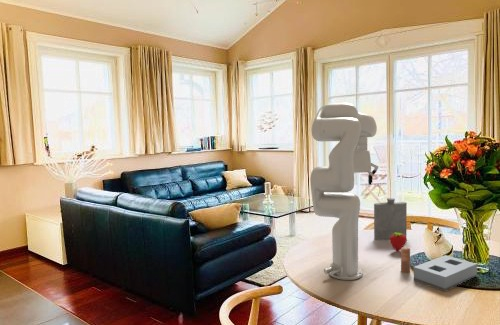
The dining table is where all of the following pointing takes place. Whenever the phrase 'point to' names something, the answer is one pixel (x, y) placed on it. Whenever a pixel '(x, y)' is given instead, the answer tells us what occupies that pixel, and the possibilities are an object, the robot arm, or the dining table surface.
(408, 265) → the pin
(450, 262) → the hole block
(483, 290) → the dining table surface
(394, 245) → the strawberry
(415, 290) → the dining table surface
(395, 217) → the hip flask
